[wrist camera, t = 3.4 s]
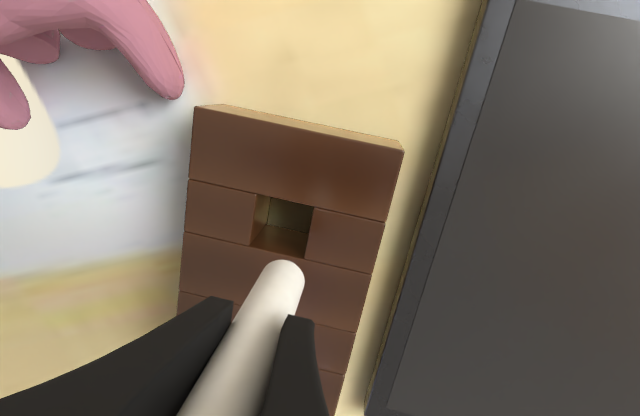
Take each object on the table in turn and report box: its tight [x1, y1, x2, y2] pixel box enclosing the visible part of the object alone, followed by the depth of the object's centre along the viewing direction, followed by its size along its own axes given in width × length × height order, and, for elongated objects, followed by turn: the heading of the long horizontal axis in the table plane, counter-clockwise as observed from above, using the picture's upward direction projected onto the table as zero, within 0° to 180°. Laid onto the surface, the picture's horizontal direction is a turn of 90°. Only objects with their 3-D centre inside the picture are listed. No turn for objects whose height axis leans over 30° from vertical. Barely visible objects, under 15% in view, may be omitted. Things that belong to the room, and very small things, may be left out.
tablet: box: [364, 0, 640, 416], centre depth 17 cm, size 22×16×1 cm
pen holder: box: [177, 104, 405, 416], centre depth 18 cm, size 14×8×3 cm, turn 169°
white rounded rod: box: [176, 260, 305, 416], centre depth 9 cm, size 2×2×8 cm
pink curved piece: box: [0, 0, 184, 130], centre depth 15 cm, size 10×5×7 cm, turn 100°
